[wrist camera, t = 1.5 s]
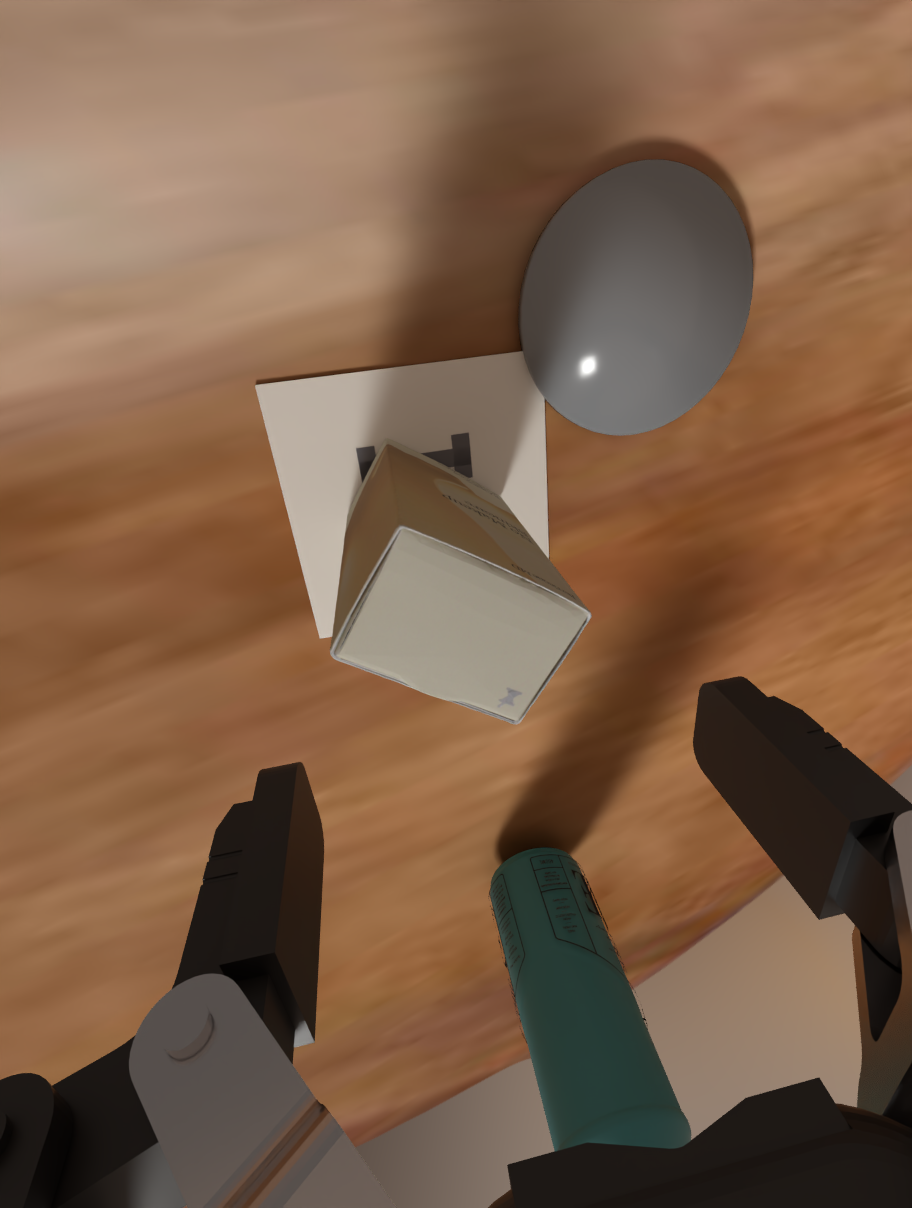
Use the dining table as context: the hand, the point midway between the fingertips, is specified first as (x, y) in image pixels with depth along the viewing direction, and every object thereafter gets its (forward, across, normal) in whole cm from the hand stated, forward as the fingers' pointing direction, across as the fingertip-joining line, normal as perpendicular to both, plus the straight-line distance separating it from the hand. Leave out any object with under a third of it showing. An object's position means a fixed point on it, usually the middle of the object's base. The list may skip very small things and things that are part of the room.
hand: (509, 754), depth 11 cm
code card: (+17, 0, 0) cm, 17 cm away
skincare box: (+17, 0, 0) cm, 17 cm away
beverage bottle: (+17, -4, +26) cm, 31 cm away
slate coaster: (+17, -10, -7) cm, 21 cm away
